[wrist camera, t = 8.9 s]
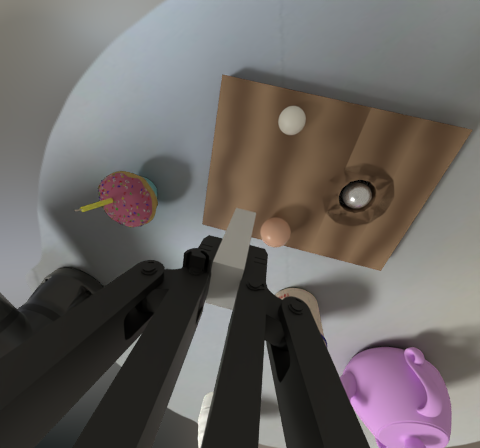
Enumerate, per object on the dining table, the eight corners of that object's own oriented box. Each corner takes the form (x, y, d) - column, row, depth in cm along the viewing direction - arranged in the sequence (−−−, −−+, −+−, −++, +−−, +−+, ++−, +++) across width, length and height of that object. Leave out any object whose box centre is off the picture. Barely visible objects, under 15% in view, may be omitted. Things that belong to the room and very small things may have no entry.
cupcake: (112, 190, 38) (47, 221, 27) (134, 152, 34) (68, 171, 24) (153, 223, 39) (107, 264, 29) (179, 190, 36) (136, 223, 25)
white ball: (275, 130, 27) (274, 133, 25) (282, 103, 26) (282, 102, 23) (299, 136, 27) (301, 139, 24) (308, 109, 26) (311, 108, 23)
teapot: (333, 317, 42) (354, 400, 30) (456, 341, 40) (532, 441, 28) (306, 380, 53) (314, 461, 41) (403, 403, 50) (442, 495, 38)
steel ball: (365, 213, 28) (367, 210, 31) (375, 185, 27) (376, 184, 30) (337, 206, 30) (341, 203, 33) (344, 179, 29) (348, 180, 32)
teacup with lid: (280, 279, 40) (280, 336, 30) (327, 295, 40) (343, 359, 30) (258, 320, 46) (252, 380, 36) (300, 335, 46) (305, 399, 36)
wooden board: (207, 217, 37) (202, 224, 35) (227, 77, 28) (222, 74, 25) (374, 260, 36) (380, 270, 33) (456, 128, 26) (472, 129, 24)
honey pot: (256, 406, 62) (247, 508, 46) (233, 420, 68) (218, 515, 52) (216, 385, 60) (193, 483, 44) (196, 402, 66) (169, 493, 50)
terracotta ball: (258, 233, 34) (255, 248, 30) (265, 209, 32) (263, 222, 28) (285, 240, 34) (285, 256, 30) (294, 216, 32) (295, 230, 28)
